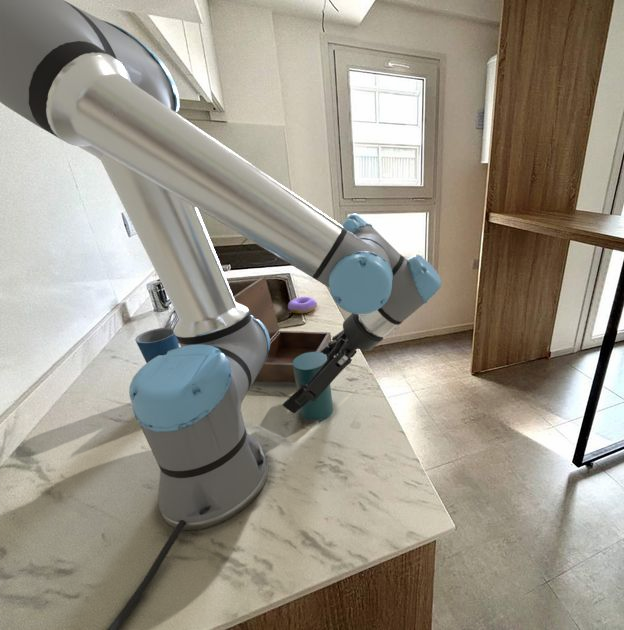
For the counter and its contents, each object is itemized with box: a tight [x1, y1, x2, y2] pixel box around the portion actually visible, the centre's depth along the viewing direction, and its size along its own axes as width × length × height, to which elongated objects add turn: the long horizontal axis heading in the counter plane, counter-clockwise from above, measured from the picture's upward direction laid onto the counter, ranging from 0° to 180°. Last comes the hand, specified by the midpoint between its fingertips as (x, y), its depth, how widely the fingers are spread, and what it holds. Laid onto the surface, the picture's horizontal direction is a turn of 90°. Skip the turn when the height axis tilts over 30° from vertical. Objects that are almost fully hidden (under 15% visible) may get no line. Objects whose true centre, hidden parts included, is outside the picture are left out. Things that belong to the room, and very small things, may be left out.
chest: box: [254, 330, 332, 384], centre depth 86 cm, size 15×17×6 cm
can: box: [293, 352, 334, 423], centre depth 68 cm, size 7×7×13 cm
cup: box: [134, 327, 180, 364], centre depth 73 cm, size 7×7×15 cm
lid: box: [233, 276, 281, 340], centre depth 81 cm, size 15×17×1 cm
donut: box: [287, 296, 318, 314], centre depth 119 cm, size 10×9×5 cm
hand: (301, 386), depth 68 cm, fingers open, 13 cm apart
